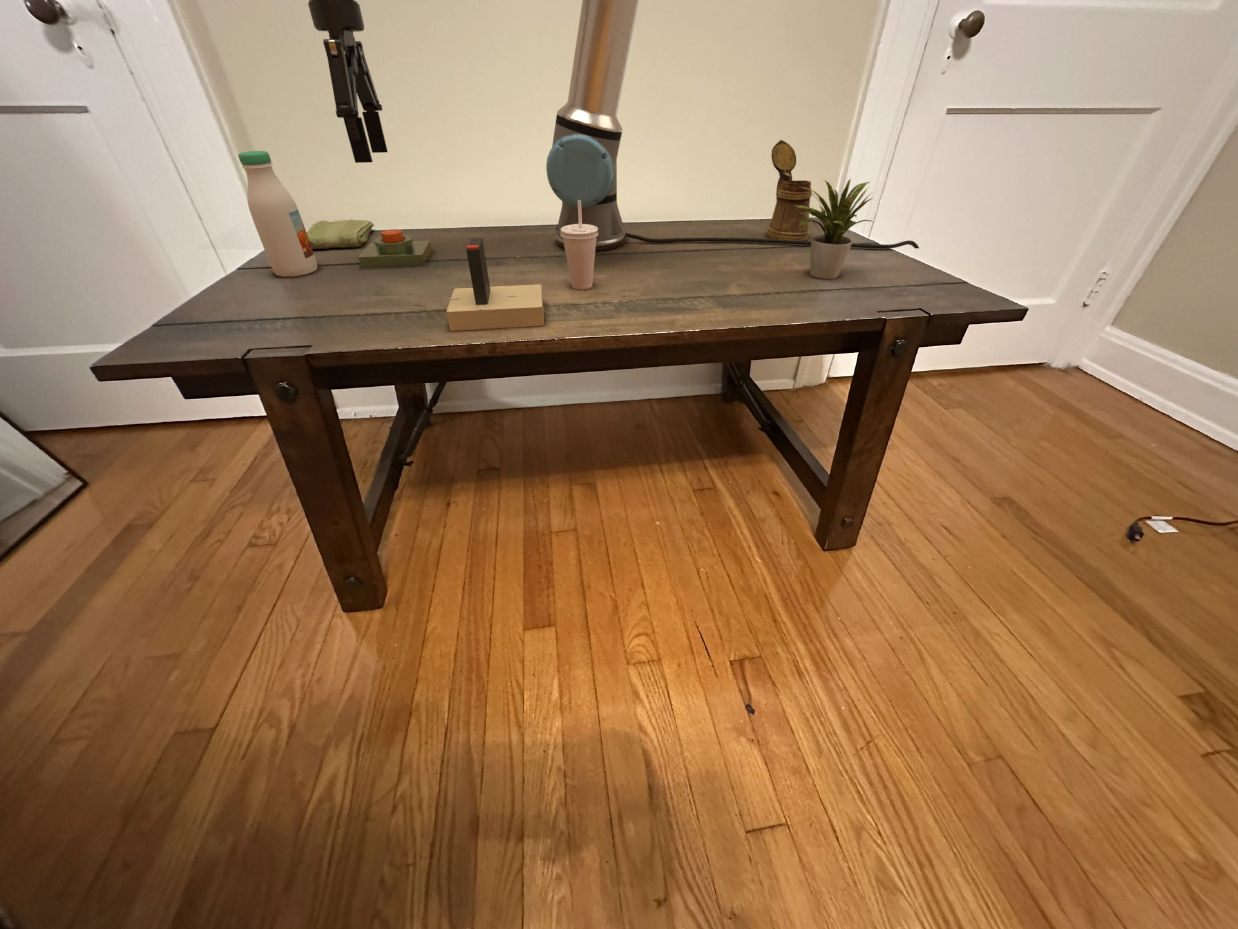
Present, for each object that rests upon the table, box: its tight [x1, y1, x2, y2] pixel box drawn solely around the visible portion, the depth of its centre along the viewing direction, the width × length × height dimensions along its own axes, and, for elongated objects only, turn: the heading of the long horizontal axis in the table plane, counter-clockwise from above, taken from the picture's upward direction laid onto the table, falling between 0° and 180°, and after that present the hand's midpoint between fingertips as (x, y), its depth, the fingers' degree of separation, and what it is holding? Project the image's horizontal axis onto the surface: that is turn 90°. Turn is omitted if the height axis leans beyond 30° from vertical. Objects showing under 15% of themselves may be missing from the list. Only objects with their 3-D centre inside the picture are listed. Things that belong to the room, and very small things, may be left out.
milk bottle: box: [237, 150, 318, 278], centre depth 96 cm, size 8×8×20 cm
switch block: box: [358, 234, 433, 269], centre depth 107 cm, size 12×10×4 cm
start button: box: [380, 228, 404, 242], centre depth 105 cm, size 4×4×2 cm
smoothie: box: [561, 200, 598, 290], centre depth 91 cm, size 6×6×14 cm
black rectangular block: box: [465, 237, 491, 305], centre depth 80 cm, size 6×2×8 cm, turn 7°
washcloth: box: [306, 219, 375, 251], centre depth 119 cm, size 13×18×3 cm
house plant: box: [794, 178, 875, 280], centre depth 95 cm, size 14×14×16 cm
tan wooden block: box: [445, 283, 545, 332], centre depth 83 cm, size 14×10×3 cm
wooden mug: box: [766, 139, 813, 241], centre depth 116 cm, size 9×14×18 cm, turn 17°
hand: (372, 157), depth 97 cm, fingers open, 12 cm apart
